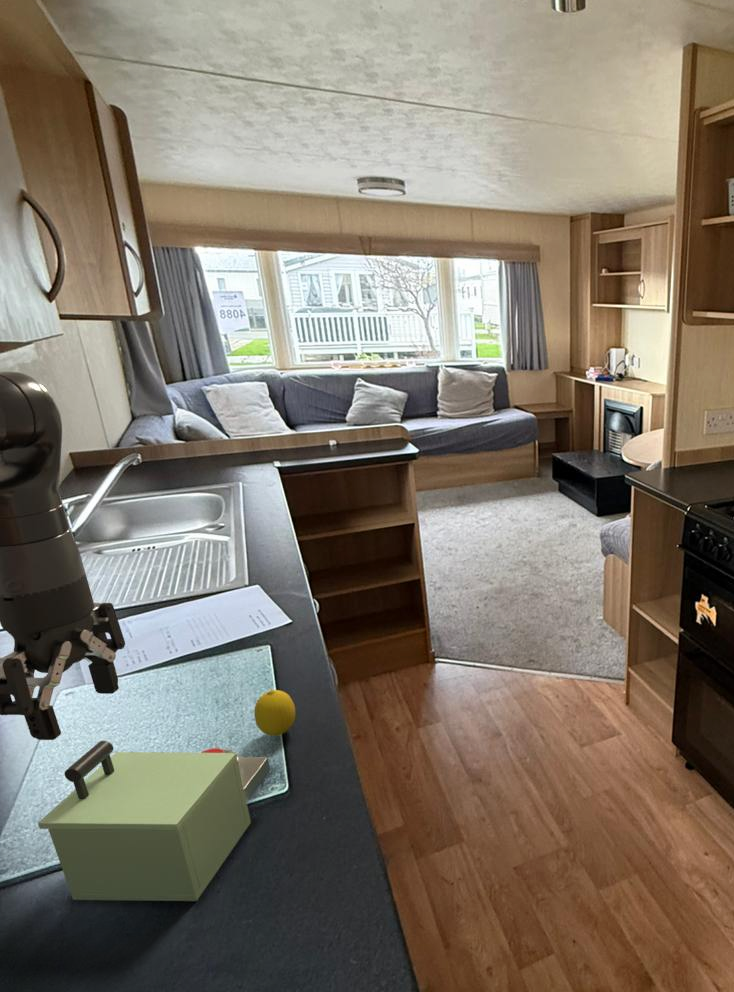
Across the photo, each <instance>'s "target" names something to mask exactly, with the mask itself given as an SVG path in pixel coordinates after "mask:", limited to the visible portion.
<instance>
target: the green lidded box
mask: <svg viewBox="0 0 734 992" xmlns="http://www.w3.org/2000/svg"><path fill="white" fill-rule="evenodd" d="M248 807H249V806H248V801H247V802H246V798H245V793H244V789H243V784H242V780H241V775H240V770H239V766H238V761H237V759H236V760H235V761H234V762H233V763H232V765H231V766H230V767H229V768H228V769H227V771H226V772H225V773H224V774H223V776H222V777H221V778H220V779H219V780H218V782H217V783H216V784H215V785H214V787H213V788H212V789H211V790H210V791H209V793H208V794H207V795H206V796H205V797H204V799H203V800H202V801H201V802H200V804H199V805H198V806H197V807H196V808H195V810H194V811H193V812H192V813H191V814H190V816H189V817H188V818H187V819H186V821H185V822H184V823H183V824H182V825H181V827H180V828H179V829H178V830H117V829H48V832H49V835H50V839H51V841H52V844H53V847H54V849H55V852H56V856H57V858H58V861H59V864H60V867H61V870H62V872H63V875H64V878H65V881H66V884H67V886H68V888H69V892H70V895H71V897H72V900H73V901H141V902H142V901H143V902H144V901H145V902H146V901H149V902H153V901H154V902H155V901H156V902H197V901H198V900H199V898H200V897H201V896H202V894H203V893H204V891H205V890H206V889H207V887H208V886H209V884H210V883H211V881H212V880H213V878H214V877H215V875H216V874H217V873H218V871H219V870H220V868H221V867H222V866H223V864H224V862H225V861H226V859H227V858H228V856H229V855H230V854H231V852H232V851H233V849H234V848H235V846H236V845H237V844H238V842H239V841H240V840H241V838H242V836H243V835H244V834H245V832H246V831H247V829H248V828H249V826H251V824H252V821H251V817H250V812H249V808H248Z"/></svg>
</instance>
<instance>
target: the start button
mask: <svg viewBox="0 0 734 992" xmlns="http://www.w3.org/2000/svg"><path fill="white" fill-rule="evenodd" d="M223 750H224V749H223V748H218V747H215V748H209V749H206V750H203V751H201V752H200V753H224V751H223Z"/></svg>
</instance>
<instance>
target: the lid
mask: <svg viewBox="0 0 734 992" xmlns="http://www.w3.org/2000/svg"><path fill="white" fill-rule="evenodd" d="M113 751H114V745H113V744H112V743H111V742H110V741H107V740H100V741H98V742H97V743H96V744H95V745H94V746H93V747H91V748H90V749H89V750H88V751H87V752H85V754H83V755H82V756H81V757H79V759H78V760H77V761H75V762H74V763H73V764H72V765H70V766H69V767H68V768H67V769H66V770H65V771H64V777H65V779H66V780H67V781H69V782H71V783H72V784H73V785H74V790H72V792H70V793H69V794H68V795H67V796H66V797H65V798H64V799H63V800H62V801H61V802H59V803H58V804H57V805H56V806H54V807H53V809H51V811H49V812H47V814H46V815H45V816H44V817H42V819H41V820H39V821H38V823H37V825H38V829H40V830H41V829H42V830H49V829H117V830H178V829H179V828H180V827H181V825H182V824H183V823H184V822H185V821H186V819H187V818H188V817H189V816H190V814H191V813H192V812H193V811H194V810H195V808H196V807H197V806H198V805H199V804H200V802H201V801H202V800H203V799H204V797H205V796H206V795H207V794H208V793H209V791H210V790H211V789H212V788H213V787H214V785H215V784H216V783H217V782H218V780H219V779H220V778H221V777H222V776H223V774H224V773H225V772H226V771H227V769H228V768H229V767H230V766H231V765H232V763H233V762H234V761H235V760H236V759H237V757H236V753H237V752H235V753H201V752H169V751H168V752H167V751H166V752H163V751H162V752H161V751H160V752H157V751H154V752H153V751H149V752H148V751H116V752H115V753H113ZM112 753H113V755H111V754H112ZM99 764H101V765H100V766H99ZM97 766H99V767H98V768H97ZM95 768H97V769H96V770H95V771H93V770H94V769H95ZM92 771H93V772H92ZM90 772H92V773H91V775H89V776H88V777H87V778H86V779H85V777H86V776H87V775H88V774H90Z"/></svg>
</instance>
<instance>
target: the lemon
mask: <svg viewBox="0 0 734 992" xmlns="http://www.w3.org/2000/svg"><path fill="white" fill-rule="evenodd" d="M254 720H255V724H256V726H257V728H258V729H259V730H260V732H262V733H264V734H265V735H267V736H271V737H272V736H277V737H281V736H282V735H283V734H284V733H286V732H288V731H289V730H290V729H291V728H292V726H293V725H294V722H295V720H296V706H295V703H294V701H293V700H292V697H291V696H290V695H289V694H288V693H286V692H285V691H283V690H279V689H269V690H268V691H267V692H265V693H263V694H261V696H260V697H259V698H258V699H257V700H256V703H255V706H254Z"/></svg>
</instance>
